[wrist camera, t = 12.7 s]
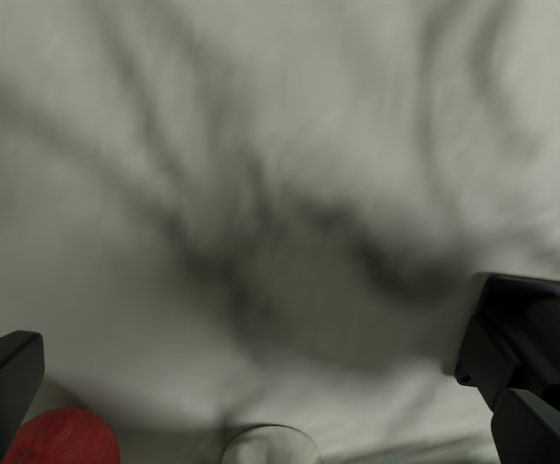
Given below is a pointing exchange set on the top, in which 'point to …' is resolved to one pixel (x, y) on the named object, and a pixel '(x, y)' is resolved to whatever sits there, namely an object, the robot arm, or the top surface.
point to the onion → (64, 440)
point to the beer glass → (272, 447)
